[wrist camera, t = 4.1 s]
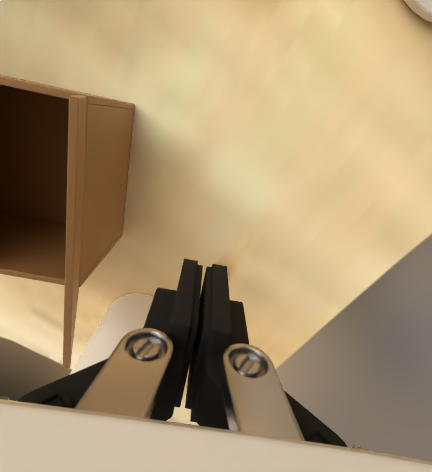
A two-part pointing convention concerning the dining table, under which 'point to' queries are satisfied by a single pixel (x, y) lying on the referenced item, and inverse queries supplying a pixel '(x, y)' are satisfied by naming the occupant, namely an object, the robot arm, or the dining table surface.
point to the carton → (58, 179)
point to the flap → (73, 217)
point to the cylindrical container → (115, 327)
